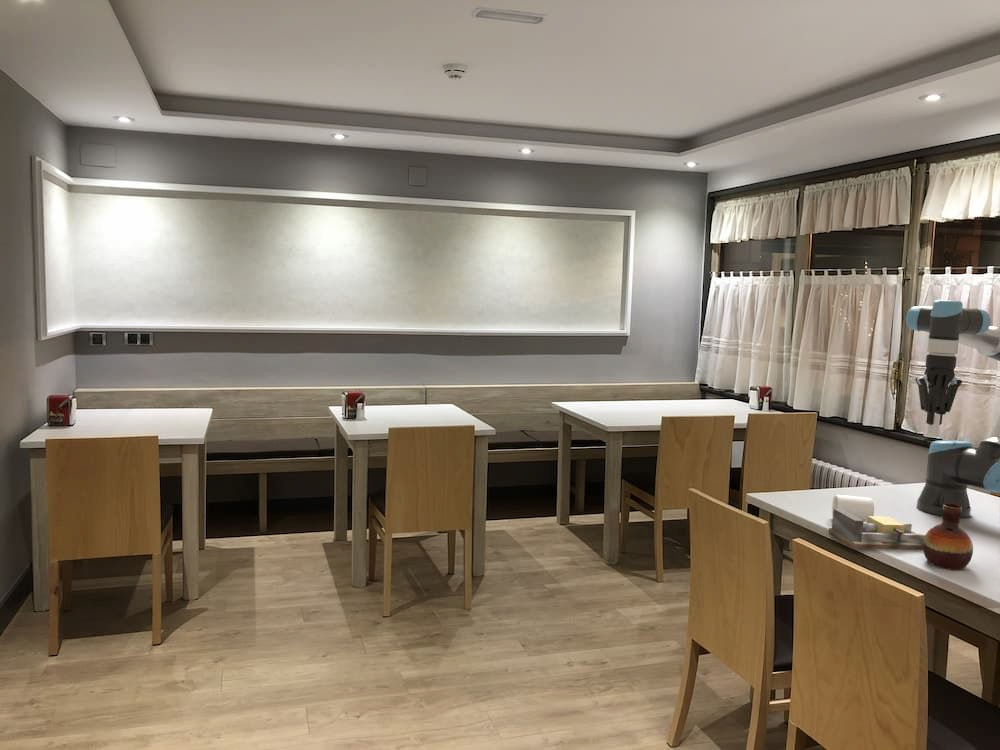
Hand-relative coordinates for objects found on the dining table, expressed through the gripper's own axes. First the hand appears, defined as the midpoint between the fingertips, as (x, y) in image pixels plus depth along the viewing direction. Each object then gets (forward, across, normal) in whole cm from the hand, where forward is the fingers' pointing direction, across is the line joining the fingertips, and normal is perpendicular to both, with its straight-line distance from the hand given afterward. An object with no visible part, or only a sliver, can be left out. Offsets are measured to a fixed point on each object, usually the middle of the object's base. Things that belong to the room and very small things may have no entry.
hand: (932, 435), depth 224 cm
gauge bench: (+28, +18, +10) cm, 35 cm away
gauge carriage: (+27, +19, +12) cm, 35 cm away
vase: (+29, +12, +28) cm, 42 cm away
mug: (+29, +17, -9) cm, 34 cm away
